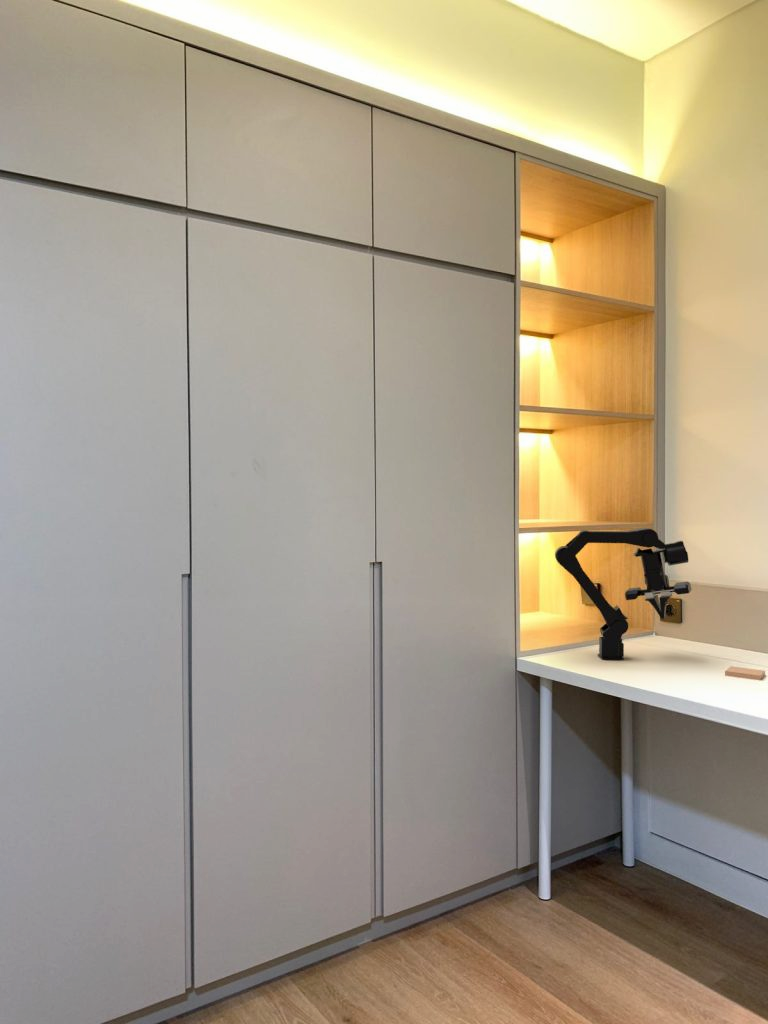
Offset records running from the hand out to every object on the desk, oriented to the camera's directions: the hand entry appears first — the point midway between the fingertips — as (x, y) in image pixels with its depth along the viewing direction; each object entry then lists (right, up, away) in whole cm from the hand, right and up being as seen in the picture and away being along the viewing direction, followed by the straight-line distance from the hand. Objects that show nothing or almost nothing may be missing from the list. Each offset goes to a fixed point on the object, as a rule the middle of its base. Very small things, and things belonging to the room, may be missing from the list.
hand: (663, 618), depth 236 cm
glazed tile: (+12, -13, -17) cm, 24 cm away
